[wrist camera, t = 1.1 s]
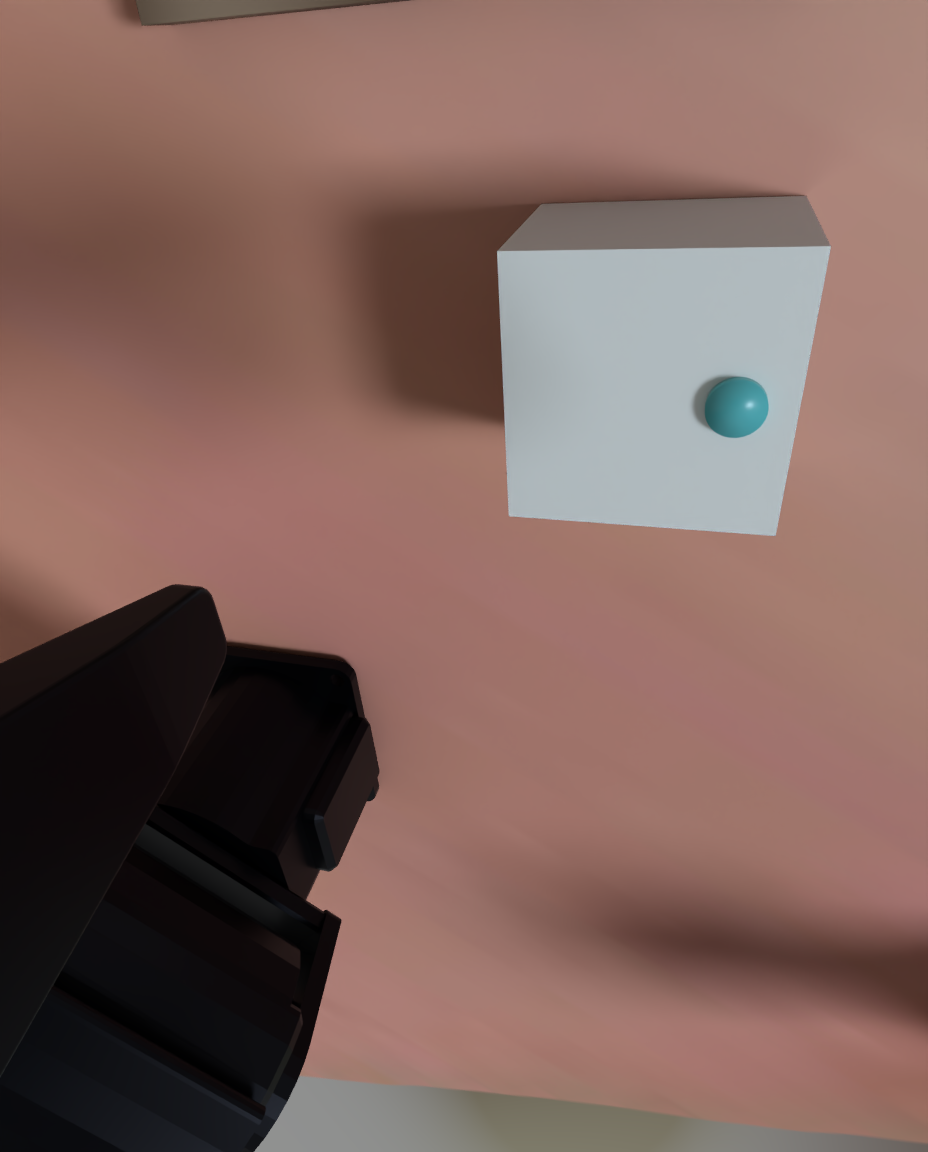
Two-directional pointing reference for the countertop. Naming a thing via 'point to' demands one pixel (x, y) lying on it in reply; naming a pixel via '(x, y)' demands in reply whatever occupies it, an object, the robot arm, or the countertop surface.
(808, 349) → the white cube
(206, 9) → the post stand
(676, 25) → the countertop surface
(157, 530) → the countertop surface
